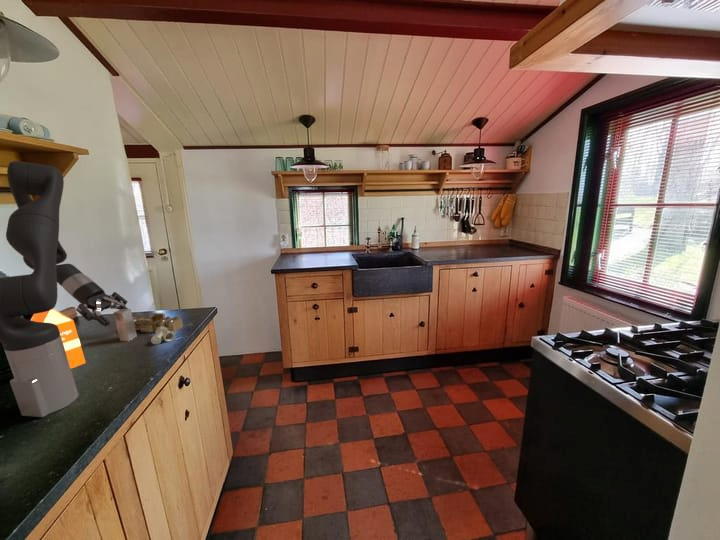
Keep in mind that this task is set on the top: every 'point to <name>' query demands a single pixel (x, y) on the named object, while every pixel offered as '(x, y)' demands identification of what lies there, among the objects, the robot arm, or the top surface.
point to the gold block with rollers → (157, 322)
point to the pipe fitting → (162, 335)
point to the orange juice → (64, 335)
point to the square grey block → (125, 324)
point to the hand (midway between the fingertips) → (119, 319)
